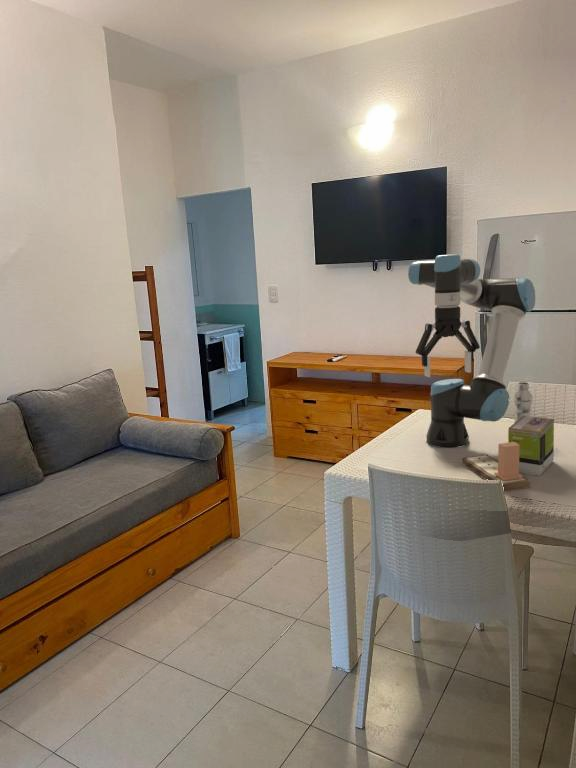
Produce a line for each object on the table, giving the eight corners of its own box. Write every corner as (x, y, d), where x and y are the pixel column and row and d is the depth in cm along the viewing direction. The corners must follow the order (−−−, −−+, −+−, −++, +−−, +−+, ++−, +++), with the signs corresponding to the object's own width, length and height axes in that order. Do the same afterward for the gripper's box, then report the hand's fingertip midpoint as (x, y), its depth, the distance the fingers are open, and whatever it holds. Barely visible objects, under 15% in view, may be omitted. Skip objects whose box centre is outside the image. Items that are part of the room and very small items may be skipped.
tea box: (522, 456, 195) (523, 414, 191) (554, 461, 188) (555, 418, 185) (507, 470, 183) (507, 426, 180) (540, 477, 177) (541, 431, 174)
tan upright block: (494, 474, 175) (495, 443, 172) (512, 471, 176) (513, 440, 173) (503, 480, 170) (504, 448, 168) (522, 477, 171) (523, 445, 169)
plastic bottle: (535, 435, 214) (537, 383, 210) (524, 439, 210) (525, 386, 206) (520, 431, 219) (521, 380, 215) (509, 435, 216) (510, 383, 211)
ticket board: (462, 463, 192) (462, 456, 191) (487, 460, 193) (487, 453, 193) (501, 491, 169) (501, 483, 168) (529, 487, 170) (529, 479, 170)
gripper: (414, 310, 170) (415, 380, 175) (491, 303, 174) (490, 372, 179) (404, 308, 177) (405, 375, 182) (478, 302, 182) (478, 367, 186)
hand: (447, 374), depth 181 cm, fingers open, 13 cm apart
